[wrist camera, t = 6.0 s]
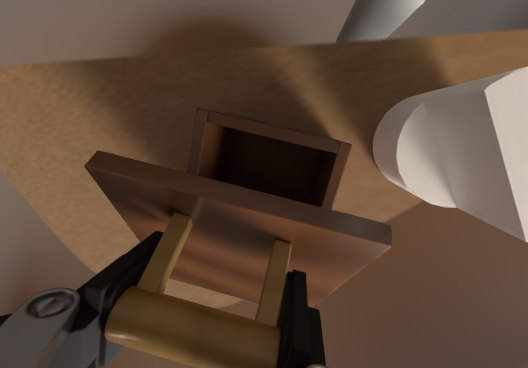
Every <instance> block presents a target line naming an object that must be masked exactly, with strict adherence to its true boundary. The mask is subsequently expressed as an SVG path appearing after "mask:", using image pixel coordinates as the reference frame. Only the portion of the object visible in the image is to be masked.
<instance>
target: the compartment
mask: <svg viewBox="0 0 528 368" xmlns="http://www.w3.org/2000/svg"><path fill="white" fill-rule="evenodd" d="M351 147H352V145H351V144H349V143H346V142H342V141H339V140H336V139H333V138H329V137H325V136H320V135H316V134H312V133H308V132H304V131H299V130H295V129H291V128H287V127H283V126H278V125H274V124H270V123H266V122H262V121H257V120H253V119H249V118H245V117H241V116H236V115H232V114H228V113H222V112H217V111H212V110H207V109H202V108H198V109H197V115H196V121H195V127H194V133H193V140H192V146H191V152H190V158H189V165H188V171H187V173H189V174H193V175H197V176H200V177H204V178H208V179H212V180H216V181H220V182H224V183H228V184H232V185H236V186H240V187H244V188H248V189H252V190H255V191H259V192H263V193H267V194H271V195H275V196H279V197H283V198H287V199H291V200H295V201H299V202H303V203H306V204H310V205H314V206H318V207H322V208H326V209H330V210H332V208H333V205H334V201H335V198H336V195H337V192H338V189H339V185H340V182H341V179H342V176H343V173H344V169H345V166H346V163H347V160H348V157H349V153H350V150H351Z"/></svg>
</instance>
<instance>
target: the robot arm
mask: <svg viewBox="0 0 528 368" xmlns="http://www.w3.org/2000/svg"><path fill="white" fill-rule="evenodd" d="M163 234H164V233H163V232H160V231H155V232H153V233H152V234H151V235H150V236H148V237H147V238H146V239H144V240H143V241H142V242H140V243H139V244H138V245H137V246H135V247H134V248H133V249H131V250H130V251H129V252H127V253H126V254H124V255H122V256H121V257H119V258H118V259H117V260H115V261H114V262H113V263H111V264H110V265H109V266H107V267H106V268H105V269H103V270H102V271H101V272H100V273H98V274H97V275H96V276H94V277H93V278H92V279H90V280H89V281H88V282H87V283H85V284H84V285H83V286H81V287H80V288H79V289H77V290H76V291H75V290H73V289H70V288H52V289H47V290H44V291H41V292H39V293H37V294H35V295H33V296H31V297H30V298H28V299H27V300H26V301H25V302H24V303H23V304H22V305H21V306H20V307H19V308H18V309H17V310H16V311H15V312H14V313H12V314H7V315H3V316H0V368H102V367H103V366H105V367H107V366H108V365H109V364H110V363H111V362H112V361H113V359H114V358H115V357H116V355H117V354H118V353H119V352H120V350H121V349H122V348H123V345H120V344H117V343H113V342H110V341H108V340H107V339H106V338H105V326H106V322H107V319H108V317H109V314H110V312H111V310H112V308H113V306H114V305H115V303H116V301H117V300H118V298H119V297H120V296H121V295H122V293H123V292H124V291H125V290H126V289H128V288H129V287H131V286H137V284H138V282H139V280H140V278H141V276H142V274H143V272H144V270H145V268H146V266H147V265H148V263H149V261H150V259H151V257H152V255H153V253H154V251H155V249H156V247H157V245H158V243H159V241H160V239H161V238H162V236H163ZM165 287H166V285H165ZM165 287H164V289H163V292H162V294H164V291H165ZM277 326H278V327H280V328H281V345H280V353H279V359H278V364H277V368H328V367H326V362H325V354H324V345H323V337H322V328H321V320H320V313H319V310H318V309H315V308H312V307H308V298H307V281H306V272H302V271H299V270H295V269H293V271H292V272H289V271H288V272H287V275H286V280H285V286H284V291H283V297H282V302H281V307H280V313H279V318H278V324H277Z"/></svg>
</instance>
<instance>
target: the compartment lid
mask: <svg viewBox="0 0 528 368" xmlns="http://www.w3.org/2000/svg"><path fill="white" fill-rule="evenodd" d="M84 167H85V168H86V169H87V171H88V172H89V173H90V175H91V176H92V177H93V179H94V180H95V182H96V183H97V184H98V186H99V187H100V188H101V190H102V191H103V192H104V194H105V195H106V196H107V198H108V199H109V200H110V202H111V203H112V204H113V206H114V207H115V208H116V210H117V211H118V213H119V214H120V215H121V217H122V218H123V219H124V221H125V222H126V223H127V225H128V226H129V227H130V229H131V230H132V231H133V233H134V234H135V235H136V237H137V238H138V239H139V241H140V242H142V241H143V240H144V239H146V238H147V237H148V236H150V235H151V234H152V233H153V232H155V231H160V232H163V233H164V234H163V236H162V238H161V239H160V241H159V243H158V245H157V247H156V249H155V251H154V253H153V255H152V257H151V259H150V261H149V263H148V265H147V266H146V268H145V270H144V272H143V274H142V276H141V278H140V280H139V282H138V284H137V286H131V287H129V288H128V289H126V290H125V291H124V292H123V293H122V295H121V296H120V297H119V298H118V300H117V301H116V303H115V305H114V306H113V308H112V310H111V312H110V314H109V317H108V319H107V322H106V326H105V338H106V339H107V340H108V341H110V342H113V343H117V344H120V345H123V346H127V347H130V348H133V349H137V350H140V351H143V352H147V353H150V354H153V355H156V356H160V357H163V358H167V359H170V360H173V361H176V362H180V363H183V364H186V365H190V366H193V367H196V368H277V364H278V359H279V353H280V345H281V328H280V327H278V326H277V324H278V318H279V313H280V307H281V302H282V297H283V291H284V286H285V280H286V275H287V272H288V271H289V272H292V271H293V269H295V270H299V271H302V272H306V281H307V298H308V307H313V306H314V305H316V304H317V303H318V302H320V301H321V300H322V299H324V298H325V297H326V296H327V295H329V294H330V293H331V292H333V291H334V290H335V289H337V288H338V287H339V286H341V285H342V284H343V283H345V282H346V281H347V280H349V279H350V278H351V277H352V276H354V275H355V274H356V273H358V272H359V271H360V270H362V269H363V268H364V267H366V266H367V265H368V264H370V263H371V262H372V261H374V260H375V259H376V258H377V257H379V256H380V255H381V254H383V253H384V252H385V251H387V250H388V249H389V248H391V247H392V233H391V225H389V224H385V223H381V222H377V221H373V220H369V219H365V218H361V217H357V216H354V215H350V214H346V213H342V212H338V211H334V210H330V209H326V208H322V207H318V206H314V205H310V204H306V203H303V202H299V201H295V200H291V199H287V198H283V197H279V196H275V195H271V194H267V193H263V192H259V191H255V190H252V189H248V188H244V187H240V186H236V185H232V184H228V183H224V182H220V181H216V180H212V179H208V178H204V177H200V176H197V175H193V174H189V173H185V172H181V171H177V170H173V169H169V168H165V167H161V166H157V165H153V164H149V163H146V162H142V161H138V160H134V159H130V158H126V157H122V156H118V155H114V154H110V153H106V152H102V151H97V152H96V153H95V154H94V155H93V156H92V158H91V159H90V160H89V161H88V162H87V163H86V164H85V166H84ZM168 278H170V279H174V280H178V281H181V282H185V283H188V284H192V285H195V286H199V287H202V288H206V289H210V290H213V291H217V292H220V293H224V294H227V295H231V296H234V297H238V298H241V299H246V300H249V301H252V302H256V303H259V305H258V309H257V313H256V318H255V320H253V319H249V318H246V317H242V316H239V315H236V314H232V313H228V312H225V311H222V310H218V309H215V308H211V307H208V306H204V305H201V304H197V303H194V302H190V301H187V300H183V299H180V298H176V297H173V296H169V295H166V294H162V292H163V289H164V287H165V285H166V283H167V281H168Z"/></svg>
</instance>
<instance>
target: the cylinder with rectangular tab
mask: <svg viewBox="0 0 528 368" xmlns="http://www.w3.org/2000/svg"><path fill="white" fill-rule="evenodd" d="M372 150H373V155H374V160H375V163H376V165H377V166H378V168H379V170H380V172H381V173H382V174H383V175H384V176H385V177H386V178H387V179H388V180H389V181H391V182H393V183H395V184H396V185H398V186H400V187H402V188H404V189H405V190H407V191H409V192H411V193H412V194H414V195H416V196H418V197H419V198H421V199H423V200H425V201H426V202H428V203H430V204H434V205H438V206H442V207H456V208H459V209H461V210H463V211H465V212H467V213H469V214H471V215H473V216H475V217H477V218H479V219H481V220H483V221H485V222H487V223H489V224H491V225H493V226H495V227H497V228H499V229H501V230H503V231H505V232H507V233H509V234H511V235H513V236H515V237H517V238H519V239H521V240H523V241H525V242H528V66H527V67H523V68H520V69H516V70H512V71H508V72H504V73H500V74H496V75H492V76H489V77H485V78H481V79H477V80H473V81H469V82H465V83H461V84H457V85H454V86H450V87H446V88H442V89H438V90H434V91H430V92H426V93H423V94H419V95H415V96H412V97H409V98H406V99H404V100H403V101H401V102H399V103H397V104H396V105H394V106H393V107H392V108H391V109H390V110H389V111H388V112H387V113H386V114H385V115H384V116H383V118H382V119H381V121H380V123H379V124H378V126H377V128H376V131H375V134H374V137H373V149H372Z"/></svg>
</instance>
